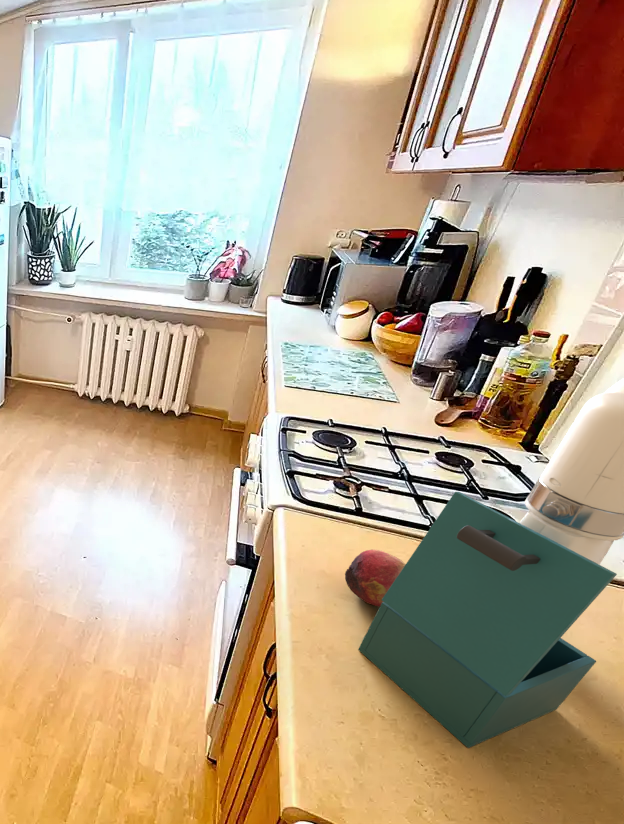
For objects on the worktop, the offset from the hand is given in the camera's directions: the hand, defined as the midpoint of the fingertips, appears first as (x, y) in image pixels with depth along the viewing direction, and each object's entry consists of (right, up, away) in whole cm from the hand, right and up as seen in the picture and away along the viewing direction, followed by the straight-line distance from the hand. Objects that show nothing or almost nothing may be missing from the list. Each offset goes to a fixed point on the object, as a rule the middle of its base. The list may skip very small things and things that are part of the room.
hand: (498, 625), depth 63 cm
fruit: (-5, -2, +15) cm, 16 cm away
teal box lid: (-8, +7, -6) cm, 12 cm away
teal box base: (-3, -8, +3) cm, 9 cm away
